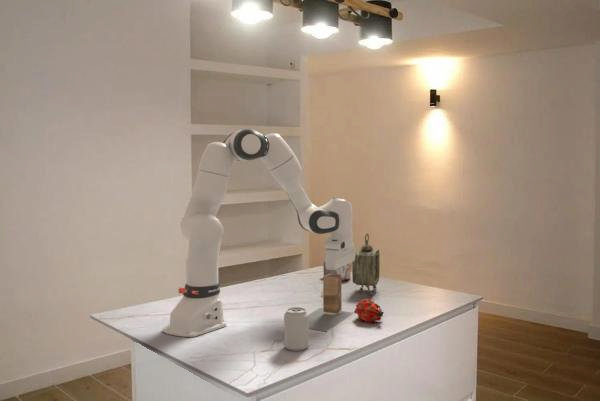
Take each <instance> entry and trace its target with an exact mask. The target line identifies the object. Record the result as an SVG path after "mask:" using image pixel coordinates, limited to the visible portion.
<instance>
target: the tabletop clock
mask: <svg viewBox="0 0 600 401" xmlns="http://www.w3.org/2000/svg"><path fill="white" fill-rule="evenodd" d="M369 240H370V235H369V233H366V234H365V236H364V244H362V246H361V247H360V249H358V250H356V251H355V261H354V262H352V263H351V274H352V283H353V284H355V285H357V286H361V287H360V288H359V291H360V293H361V292H363V291H364V286H365V287H366V288H367V291H368V293H367V294H368V296H371V295H373V293H372V291H371V290H370V287H372V289H373V290H376V289H377V285H378V283H379V281H380V264H381V262H380V258H381V257H380V250H379V249H374V248H373V246H372V245H371V244H369Z"/></svg>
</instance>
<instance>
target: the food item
mask: <svg viewBox="0 0 600 401" xmlns="http://www.w3.org/2000/svg"><path fill="white" fill-rule="evenodd" d="M327 274H337V271H336V270H327V269H326V266H325V260H324V261H323V276H325V275H327ZM351 274H352V263H349V264H347V265H346V270H345V276H344V277H342V278H341V282H344V281H345V282H346V281H349V280H351Z"/></svg>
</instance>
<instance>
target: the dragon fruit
mask: <svg viewBox="0 0 600 401" xmlns="http://www.w3.org/2000/svg"><path fill="white" fill-rule="evenodd" d="M355 306H356V308H355V310H354V311H353V314H356V315H357V318H358V320H359V322H362V321H364V322H366V323H367V324H369V323H370V324H376V323H375V322H381V320H382V318H383V317H384V316H383V315H384V311H383V309H382V308H381V306H380V305H378V304H377V303H375V302H374V301H373V300H372V299H368V298H364V299H361V300H360V301H359V302H358V303H357V304H356V305H355Z"/></svg>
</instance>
